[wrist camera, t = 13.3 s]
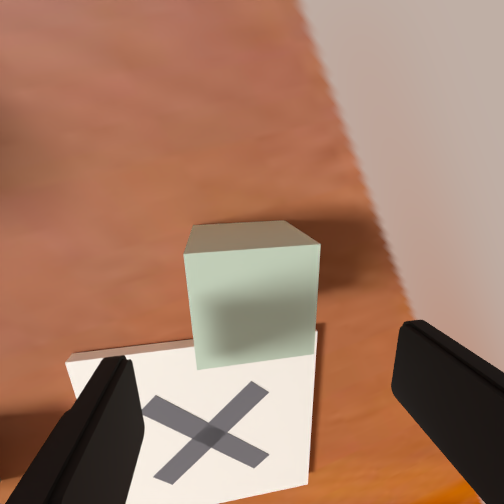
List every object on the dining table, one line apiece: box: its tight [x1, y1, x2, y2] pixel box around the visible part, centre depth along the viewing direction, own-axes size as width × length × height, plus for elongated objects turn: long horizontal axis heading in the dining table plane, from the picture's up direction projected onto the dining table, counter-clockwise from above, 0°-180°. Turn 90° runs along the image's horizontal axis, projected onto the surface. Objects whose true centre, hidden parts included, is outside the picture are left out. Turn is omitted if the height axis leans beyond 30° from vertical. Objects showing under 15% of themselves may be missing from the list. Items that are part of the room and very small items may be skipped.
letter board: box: [65, 328, 317, 504], centre depth 19 cm, size 16×16×1 cm
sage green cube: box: [184, 220, 321, 370], centre depth 13 cm, size 6×6×6 cm
